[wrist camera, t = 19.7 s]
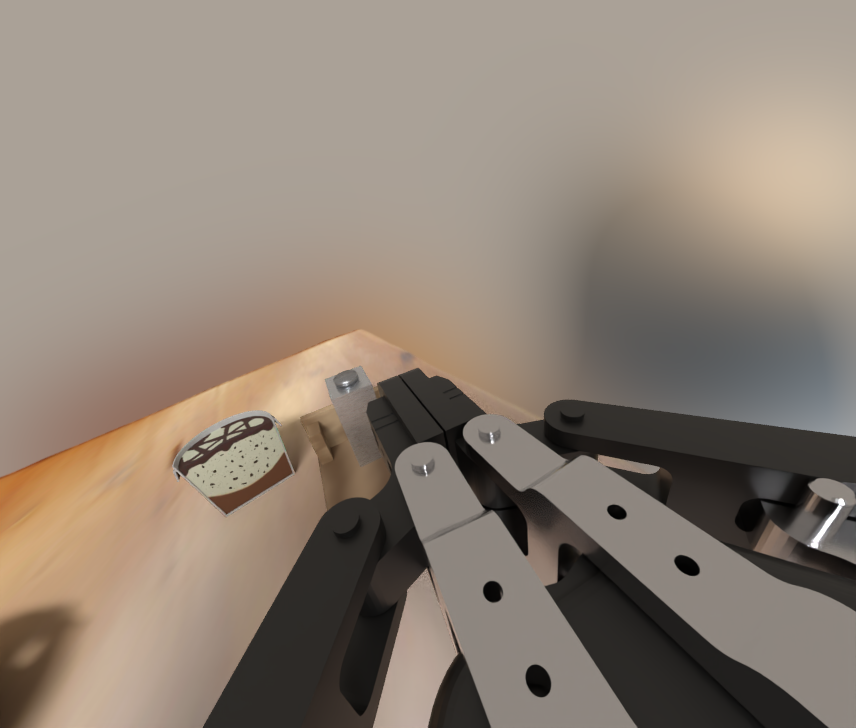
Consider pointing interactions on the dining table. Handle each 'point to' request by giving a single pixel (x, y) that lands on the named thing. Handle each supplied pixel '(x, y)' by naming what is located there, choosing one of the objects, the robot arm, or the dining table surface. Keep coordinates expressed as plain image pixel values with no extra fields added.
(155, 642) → the dining table surface
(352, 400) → the block
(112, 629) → the dining table surface
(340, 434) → the dock
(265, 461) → the food container
